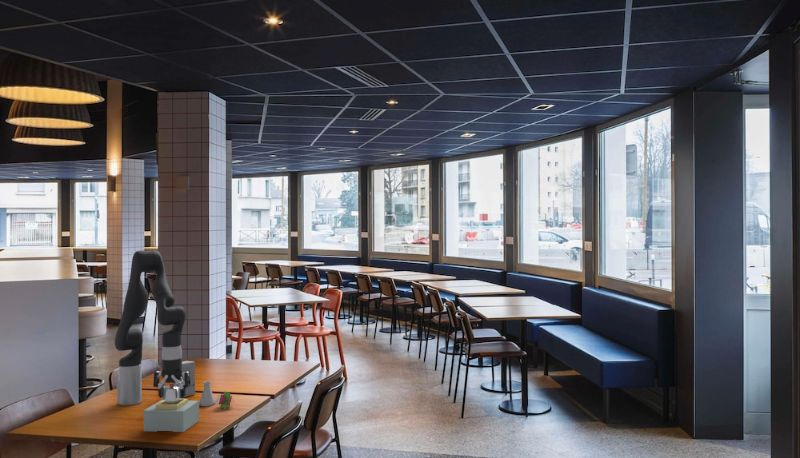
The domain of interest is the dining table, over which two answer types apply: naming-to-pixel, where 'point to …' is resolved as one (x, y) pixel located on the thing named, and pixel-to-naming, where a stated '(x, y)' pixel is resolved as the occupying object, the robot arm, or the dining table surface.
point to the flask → (207, 395)
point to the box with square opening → (171, 416)
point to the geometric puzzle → (224, 400)
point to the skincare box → (191, 368)
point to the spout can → (172, 394)
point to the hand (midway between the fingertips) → (172, 397)
